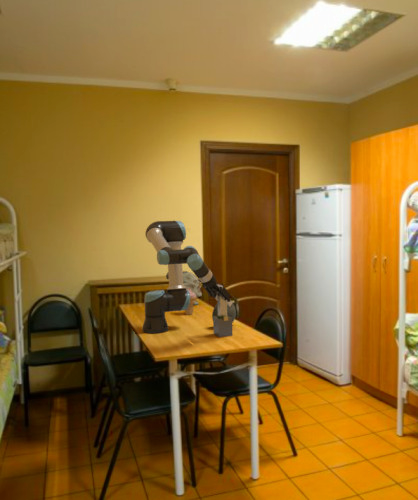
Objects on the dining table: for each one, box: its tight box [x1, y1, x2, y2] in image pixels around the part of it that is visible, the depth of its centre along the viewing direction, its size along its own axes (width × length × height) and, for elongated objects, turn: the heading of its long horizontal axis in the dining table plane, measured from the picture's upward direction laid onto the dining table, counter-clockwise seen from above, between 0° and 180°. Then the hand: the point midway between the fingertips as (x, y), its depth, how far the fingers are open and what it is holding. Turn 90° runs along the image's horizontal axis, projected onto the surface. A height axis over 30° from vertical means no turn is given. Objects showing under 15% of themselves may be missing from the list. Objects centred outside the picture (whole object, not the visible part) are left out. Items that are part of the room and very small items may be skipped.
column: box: [216, 292, 227, 318], centre depth 245 cm, size 4×4×20 cm
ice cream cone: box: [184, 289, 198, 316], centre depth 309 cm, size 11×11×20 cm
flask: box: [211, 302, 237, 324], centre depth 265 cm, size 12×17×22 cm
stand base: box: [212, 315, 233, 338], centre depth 246 cm, size 16×16×12 cm
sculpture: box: [165, 270, 203, 306], centre depth 345 cm, size 20×25×30 cm
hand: (226, 303), depth 248 cm, fingers closed on column, 5 cm apart
